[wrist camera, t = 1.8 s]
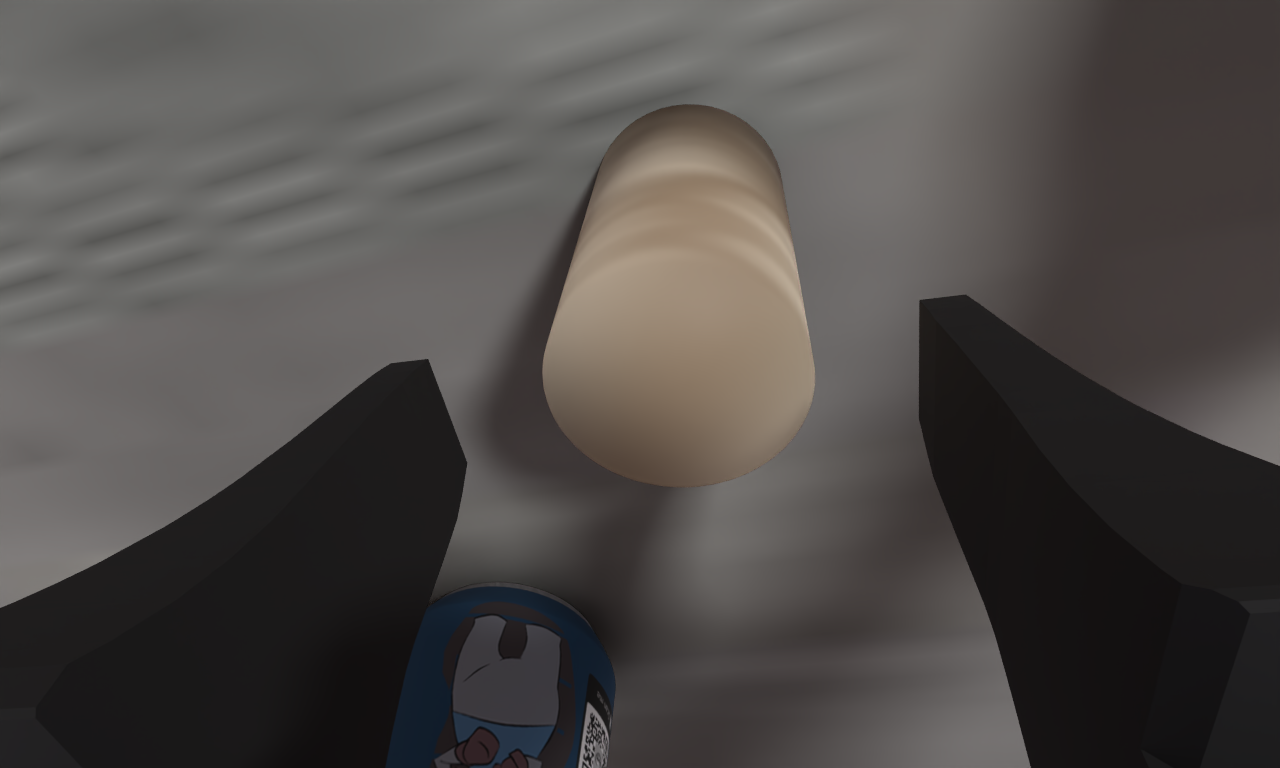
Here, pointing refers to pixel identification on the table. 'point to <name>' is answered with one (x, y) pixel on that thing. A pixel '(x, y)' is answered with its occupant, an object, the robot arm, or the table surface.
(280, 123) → the table surface
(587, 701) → the soda can
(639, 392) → the beige cylinder
